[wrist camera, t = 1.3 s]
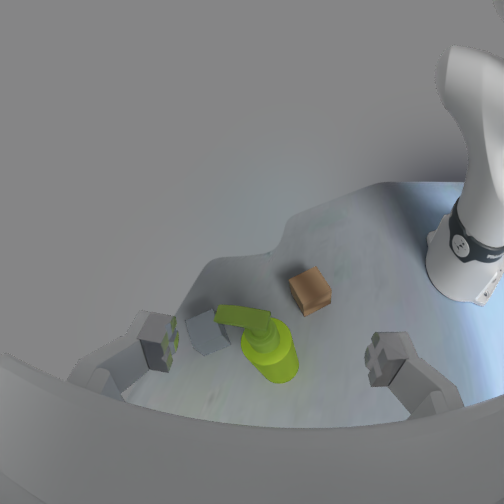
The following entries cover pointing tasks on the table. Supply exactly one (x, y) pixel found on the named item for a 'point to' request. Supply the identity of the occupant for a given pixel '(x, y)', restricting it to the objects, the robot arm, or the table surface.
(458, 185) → the table surface
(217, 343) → the slate-grey block
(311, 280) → the walnut block
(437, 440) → the robot arm
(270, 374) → the soap dispenser
